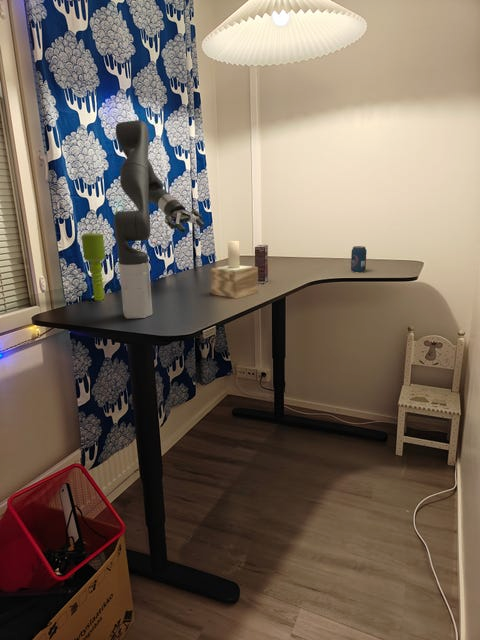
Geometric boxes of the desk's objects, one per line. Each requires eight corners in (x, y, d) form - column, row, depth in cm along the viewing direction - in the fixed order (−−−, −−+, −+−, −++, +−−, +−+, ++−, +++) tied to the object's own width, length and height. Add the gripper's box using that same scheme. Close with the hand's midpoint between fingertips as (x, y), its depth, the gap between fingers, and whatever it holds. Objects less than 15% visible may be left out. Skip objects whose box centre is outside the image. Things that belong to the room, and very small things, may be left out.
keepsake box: (258, 292, 177) (257, 267, 174) (235, 298, 168) (235, 271, 165) (233, 288, 185) (233, 264, 183) (211, 293, 176) (210, 268, 173)
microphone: (103, 301, 167) (95, 234, 161) (85, 301, 169) (77, 234, 162) (113, 297, 175) (107, 232, 168) (96, 296, 177) (89, 232, 170)
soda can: (347, 271, 219) (348, 246, 215) (359, 270, 221) (360, 245, 218) (356, 273, 212) (357, 248, 209) (368, 272, 215) (369, 247, 212)
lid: (252, 269, 174) (251, 240, 171) (235, 273, 167) (234, 243, 164) (233, 267, 181) (232, 239, 178) (216, 271, 174) (214, 242, 171)
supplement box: (265, 283, 193) (265, 246, 189) (254, 283, 194) (253, 246, 190) (268, 280, 201) (268, 244, 197) (257, 280, 202) (257, 244, 198)
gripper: (156, 202, 175) (179, 224, 167) (186, 195, 183) (209, 216, 175) (155, 219, 180) (177, 241, 173) (185, 211, 188) (207, 232, 180)
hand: (193, 228), depth 174 cm, fingers open, 8 cm apart
